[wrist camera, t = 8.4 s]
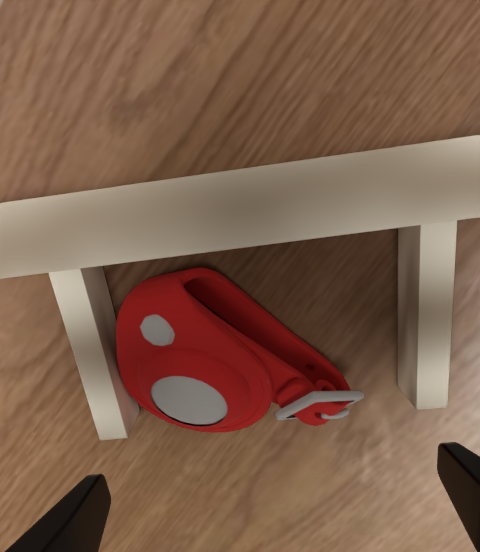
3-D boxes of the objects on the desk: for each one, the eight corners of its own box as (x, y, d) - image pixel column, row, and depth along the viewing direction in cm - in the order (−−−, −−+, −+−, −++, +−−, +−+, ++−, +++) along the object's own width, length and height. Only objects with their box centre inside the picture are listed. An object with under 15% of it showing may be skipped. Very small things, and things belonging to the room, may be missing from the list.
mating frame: (498, 375, 17) (549, 413, 14) (67, 418, 18) (33, 461, 16) (522, 133, 14) (596, 118, 11) (-4, 208, 15) (-63, 211, 12)
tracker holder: (154, 456, 18) (50, 331, 13) (179, 392, 22) (105, 276, 17) (375, 454, 14) (340, 279, 10) (360, 377, 18) (328, 223, 13)
